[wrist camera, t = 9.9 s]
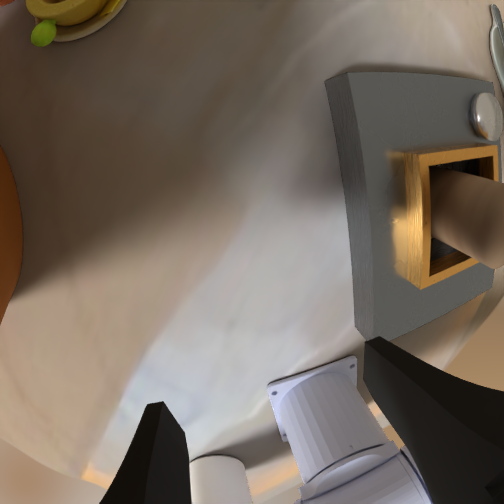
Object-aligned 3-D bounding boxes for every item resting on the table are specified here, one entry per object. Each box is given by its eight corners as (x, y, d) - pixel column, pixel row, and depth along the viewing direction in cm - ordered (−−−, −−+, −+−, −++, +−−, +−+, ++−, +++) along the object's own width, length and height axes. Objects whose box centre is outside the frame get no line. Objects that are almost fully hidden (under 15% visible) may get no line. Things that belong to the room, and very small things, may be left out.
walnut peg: (446, 221, 21) (519, 255, 14) (401, 235, 21) (478, 279, 13) (444, 161, 19) (525, 180, 12) (397, 169, 19) (485, 192, 11)
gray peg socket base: (471, 274, 24) (502, 294, 20) (354, 326, 23) (382, 360, 19) (466, 83, 17) (506, 82, 13) (324, 81, 16) (361, 67, 12)
